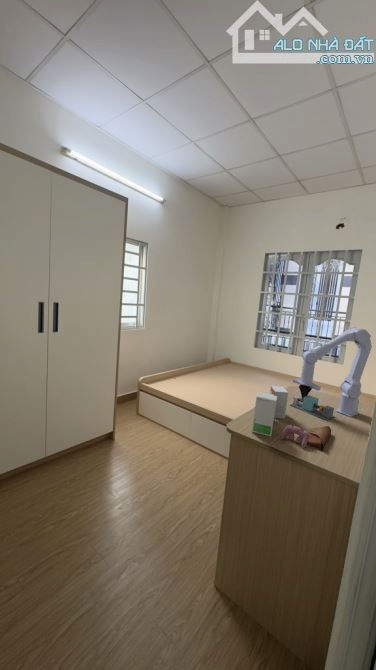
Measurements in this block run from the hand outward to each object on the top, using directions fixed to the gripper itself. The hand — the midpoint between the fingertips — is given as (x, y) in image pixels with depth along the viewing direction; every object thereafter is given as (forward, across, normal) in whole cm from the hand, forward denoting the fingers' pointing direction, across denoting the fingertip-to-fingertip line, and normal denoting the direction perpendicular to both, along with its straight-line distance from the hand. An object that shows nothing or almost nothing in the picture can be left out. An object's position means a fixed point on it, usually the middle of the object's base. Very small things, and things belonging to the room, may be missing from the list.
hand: (303, 399), depth 146 cm
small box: (+5, -1, -21) cm, 22 cm away
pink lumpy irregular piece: (+5, +19, -36) cm, 41 cm away
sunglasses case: (+5, +22, -25) cm, 34 cm away
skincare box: (+5, +7, -41) cm, 42 cm away
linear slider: (+5, +5, 0) cm, 7 cm away
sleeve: (+5, +4, 0) cm, 6 cm away
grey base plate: (+5, +5, 0) cm, 7 cm away
